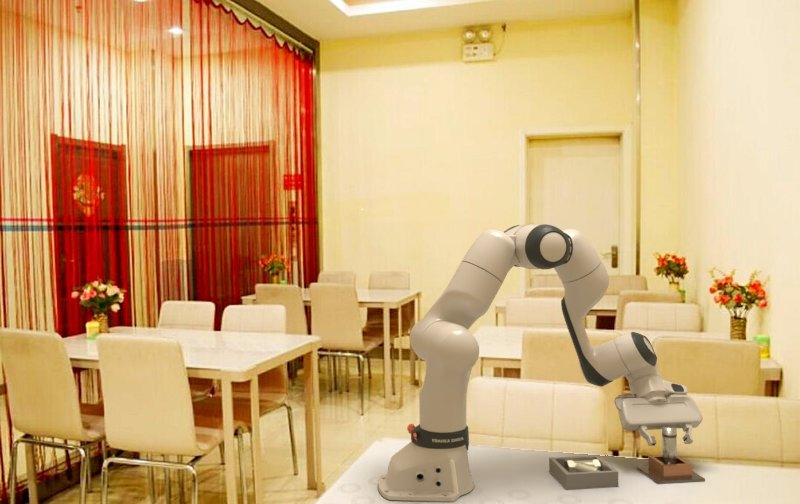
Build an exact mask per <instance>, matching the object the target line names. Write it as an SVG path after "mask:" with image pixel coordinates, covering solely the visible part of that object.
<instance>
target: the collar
mask: <svg viewBox="0 0 800 504" xmlns="http://www.w3.org/2000/svg"><path fill="white" fill-rule="evenodd" d="M647 462H648V465H637V466H636V470H637V471H639V472H640V473H642V474H643V475H644V476H646V477H647V478H649V479H650V480H651V481H652V482H654V483H655V484H656V485H663V484H681V483H698V482H705V481H706V478H705V477H703V476H702V475H700V474H698V473H697V472H696V471H693V464H692V463H690V462H689V461H687V460H686V459H684V458H682V457H680V456H679V455H677V464H664V463H662V455H659V454H658V455H648V461H647Z"/></svg>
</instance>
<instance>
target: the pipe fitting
mask: <svg viewBox="0 0 800 504" xmlns="http://www.w3.org/2000/svg"><path fill="white" fill-rule="evenodd" d="M564 467H565V469H566V470H567V471H568V472H569V473H575V472H593V471H601V464H600V462H599V460H598V459H596V460H582V461H573V460H567V461H565V464H564Z"/></svg>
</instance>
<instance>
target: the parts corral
mask: <svg viewBox="0 0 800 504" xmlns="http://www.w3.org/2000/svg"><path fill="white" fill-rule="evenodd" d="M548 458H549V460H548V461H549V462H548V463H549V464H548V465H549V467H548V468H549V469H548V471H549V473H550V475H552V476H553V477H554V479H556V480H557V481H558V483H560V484H561V486H563V488H564V489H566V490H584V489H603V488H617V487H619V471H618V470H617V469H615V468H614V467H613V466H612V465H610V464H609V463H608V462H607V461H606V460H604V459H603V458H601V457H600V456H599V455H598V454H594V455H593V454H591V455H575V456H574V455H573V456H553V457H548ZM596 459H598V460H599V462H600V464H601V471H593V472H575V473H569V472H568V471H567V470H566V469H565V467H564V464H565V461H567V460H573V461H582V460H596Z"/></svg>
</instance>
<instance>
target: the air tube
mask: <svg viewBox="0 0 800 504" xmlns="http://www.w3.org/2000/svg"><path fill="white" fill-rule="evenodd" d="M661 430H662V431H661V436H662V437H661V439H662V442H661V444H662V445H661V448H662V449H661V450H662V451H661V453H662V463H664V464H677V456H678V453H677V450H678V449H677V445H678V444H677V438H678V436H677V432H678V431H677V429H676V427H674V426H662V429H661Z"/></svg>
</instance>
